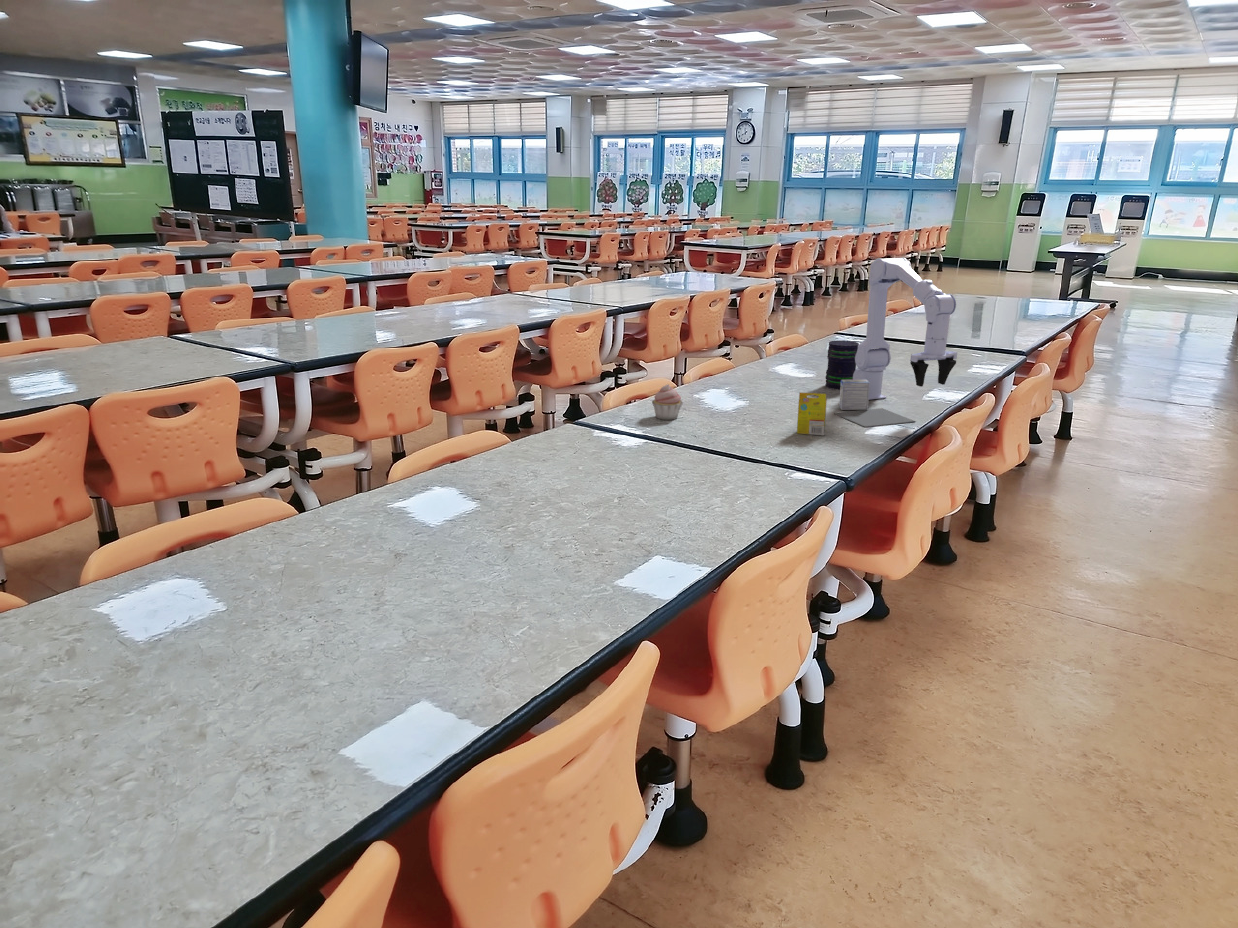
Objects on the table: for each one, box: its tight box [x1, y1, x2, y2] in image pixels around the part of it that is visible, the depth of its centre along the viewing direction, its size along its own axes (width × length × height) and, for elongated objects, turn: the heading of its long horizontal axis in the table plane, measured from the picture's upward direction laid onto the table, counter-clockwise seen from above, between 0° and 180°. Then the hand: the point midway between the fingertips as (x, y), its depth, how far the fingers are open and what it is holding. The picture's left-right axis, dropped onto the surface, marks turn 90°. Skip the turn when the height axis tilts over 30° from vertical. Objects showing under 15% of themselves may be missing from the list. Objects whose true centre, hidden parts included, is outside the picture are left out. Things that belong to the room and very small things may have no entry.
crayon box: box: [796, 392, 827, 436], centre depth 226 cm, size 7×3×12 cm, turn 74°
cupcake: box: [651, 383, 684, 421], centre depth 242 cm, size 9×9×10 cm
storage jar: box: [824, 339, 860, 391], centre depth 278 cm, size 10×10×15 cm
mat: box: [833, 407, 916, 428], centre depth 243 cm, size 16×17×1 cm
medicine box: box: [839, 379, 870, 411], centre depth 251 cm, size 8×4×9 cm, turn 84°
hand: (930, 384), depth 239 cm, fingers open, 7 cm apart
